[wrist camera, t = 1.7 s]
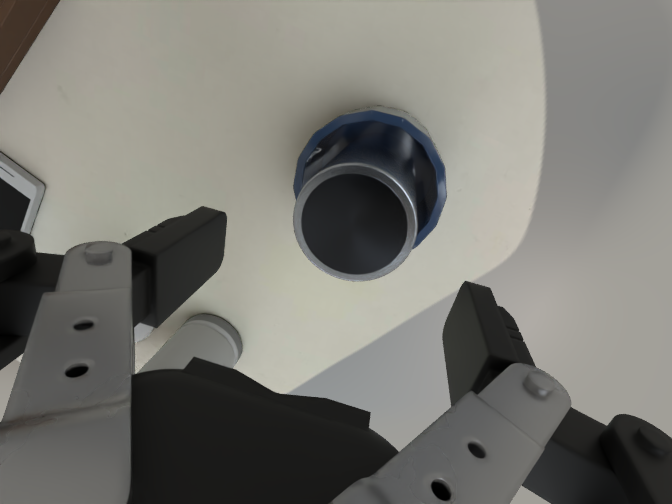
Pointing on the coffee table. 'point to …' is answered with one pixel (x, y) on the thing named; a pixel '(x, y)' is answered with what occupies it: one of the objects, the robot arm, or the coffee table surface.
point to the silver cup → (360, 210)
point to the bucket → (392, 123)
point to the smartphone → (18, 196)
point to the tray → (19, 31)
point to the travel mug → (199, 344)
